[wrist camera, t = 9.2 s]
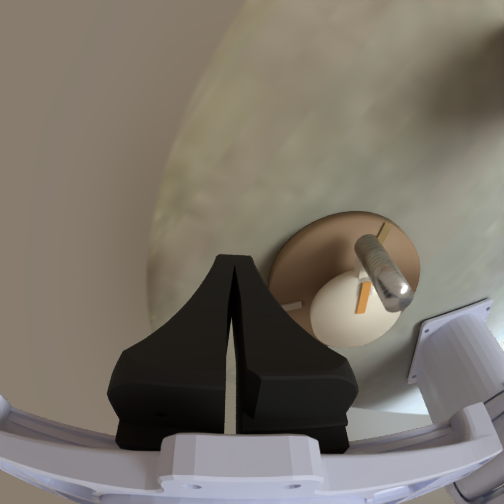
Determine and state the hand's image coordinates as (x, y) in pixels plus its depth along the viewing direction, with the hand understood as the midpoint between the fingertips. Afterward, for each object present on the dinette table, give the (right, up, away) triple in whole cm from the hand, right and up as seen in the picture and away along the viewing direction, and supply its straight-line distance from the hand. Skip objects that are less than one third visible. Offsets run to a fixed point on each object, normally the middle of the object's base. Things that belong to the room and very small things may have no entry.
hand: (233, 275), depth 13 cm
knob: (+7, -1, +4) cm, 8 cm away
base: (+7, -1, +7) cm, 10 cm away
